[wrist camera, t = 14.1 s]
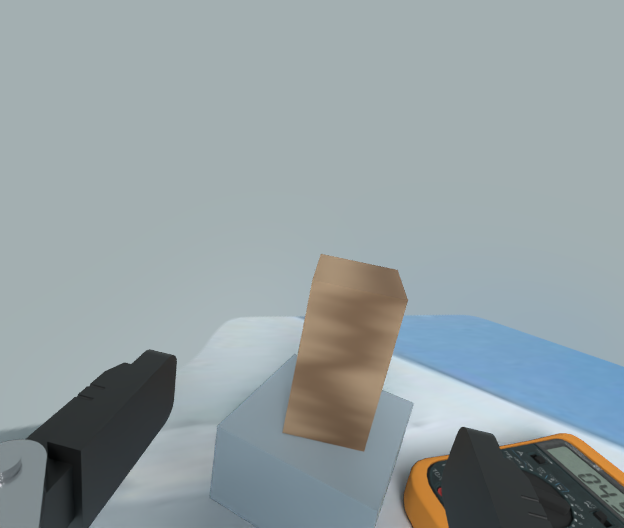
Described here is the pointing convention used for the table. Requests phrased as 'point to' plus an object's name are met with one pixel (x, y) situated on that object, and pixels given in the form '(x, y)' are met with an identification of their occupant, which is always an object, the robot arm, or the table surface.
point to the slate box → (302, 464)
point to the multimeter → (536, 484)
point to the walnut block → (344, 351)
